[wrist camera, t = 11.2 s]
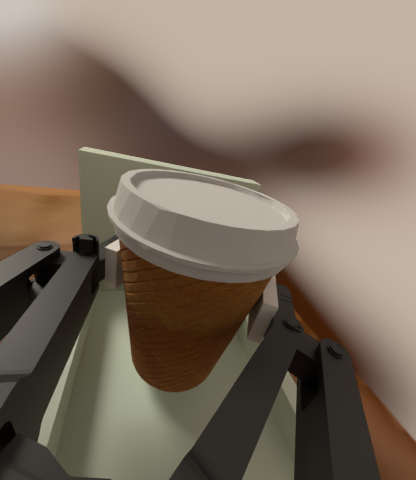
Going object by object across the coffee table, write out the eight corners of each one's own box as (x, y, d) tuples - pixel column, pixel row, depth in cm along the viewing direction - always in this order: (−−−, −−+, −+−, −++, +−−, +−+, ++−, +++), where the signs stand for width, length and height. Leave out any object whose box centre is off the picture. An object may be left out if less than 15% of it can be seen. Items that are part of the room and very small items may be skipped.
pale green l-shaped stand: (89, 284, 22) (84, 146, 16) (219, 283, 28) (252, 180, 21) (-21, 620, 7) (-663, 475, 1) (310, 478, 13) (508, 317, 6)
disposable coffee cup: (74, 349, 14) (58, 163, 8) (172, 286, 21) (195, 168, 16) (182, 478, 10) (277, 276, 4) (255, 344, 17) (321, 212, 12)
